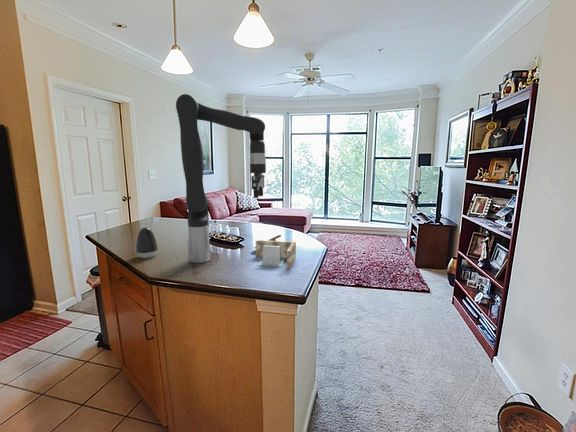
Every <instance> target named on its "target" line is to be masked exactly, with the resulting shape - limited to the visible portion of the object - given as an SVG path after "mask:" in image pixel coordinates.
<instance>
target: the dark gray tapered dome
mask: <svg viewBox="0 0 576 432" xmlns="http://www.w3.org/2000/svg"><path fill="white" fill-rule="evenodd" d="M158 250H159V246H158V242H157V239H156V236H155V234H154V232H153V230H152V229H151V228H149V227H146V226H145V227H142V228H141V229H140V230H139V231H138V233H137V236H136V240H135V250H134V251H135V253H136V255H137V256H138V257H139V258H141V259H150V258H153V257H155V256H156V255H157V253H158Z"/></svg>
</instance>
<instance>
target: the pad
mask: <svg viewBox="0 0 576 432" xmlns="http://www.w3.org/2000/svg"><path fill="white" fill-rule="evenodd" d="M262 261H263V258H262V259H261V260H260V261H259V263H258V264H257V266H259V267H267V266H266V265H261V262H262ZM284 263H285V260H284V259H281V263H280V264H279V266H272V267H277V268H282V266H283V265H284Z"/></svg>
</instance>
